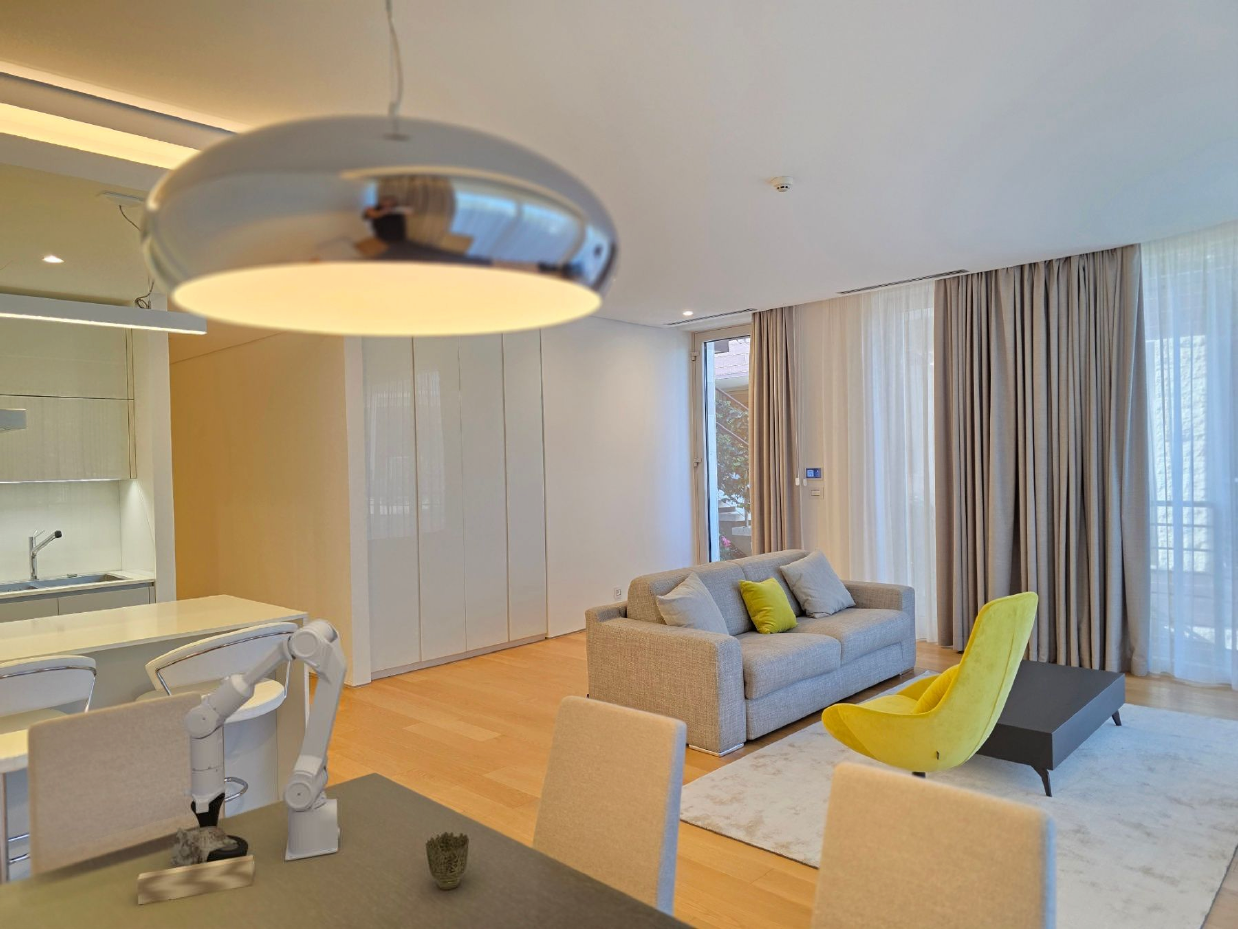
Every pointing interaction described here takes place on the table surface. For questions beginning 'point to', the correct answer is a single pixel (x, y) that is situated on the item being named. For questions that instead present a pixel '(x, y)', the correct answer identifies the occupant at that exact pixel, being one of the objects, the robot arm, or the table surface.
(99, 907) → the table surface
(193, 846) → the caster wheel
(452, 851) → the cup
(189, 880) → the bar
